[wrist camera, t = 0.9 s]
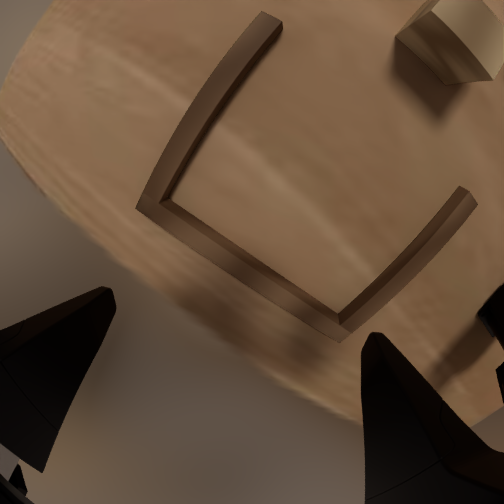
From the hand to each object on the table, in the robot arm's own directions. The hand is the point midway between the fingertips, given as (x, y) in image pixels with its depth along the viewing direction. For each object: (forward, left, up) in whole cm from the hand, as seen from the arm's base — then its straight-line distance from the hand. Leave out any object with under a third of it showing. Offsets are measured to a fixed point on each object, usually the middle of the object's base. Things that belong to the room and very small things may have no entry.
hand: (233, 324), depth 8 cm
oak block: (-2, -19, -12) cm, 22 cm away
